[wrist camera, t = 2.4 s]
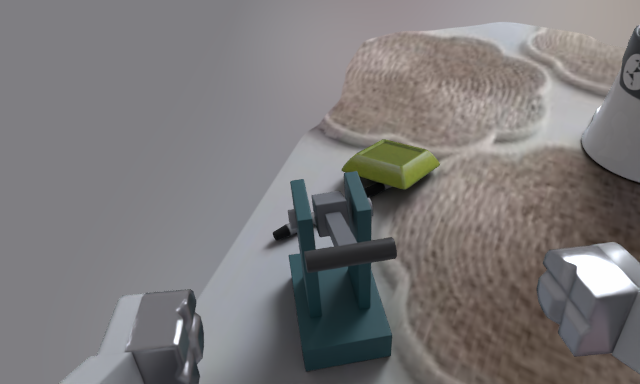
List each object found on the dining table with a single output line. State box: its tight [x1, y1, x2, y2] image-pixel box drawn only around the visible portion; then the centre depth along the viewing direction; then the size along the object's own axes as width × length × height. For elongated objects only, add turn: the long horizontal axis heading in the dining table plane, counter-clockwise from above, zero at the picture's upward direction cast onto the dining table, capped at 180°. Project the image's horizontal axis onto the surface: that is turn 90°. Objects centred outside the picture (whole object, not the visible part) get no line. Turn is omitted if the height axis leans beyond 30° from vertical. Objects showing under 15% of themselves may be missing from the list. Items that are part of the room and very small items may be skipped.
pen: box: [273, 182, 392, 240], centre depth 51 cm, size 1×16×1 cm, turn 122°
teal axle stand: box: [288, 171, 392, 371], centre depth 36 cm, size 10×7×14 cm
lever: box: [304, 191, 397, 273], centre depth 30 cm, size 10×5×2 cm, turn 8°
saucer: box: [342, 139, 440, 189], centre depth 54 cm, size 9×9×2 cm
